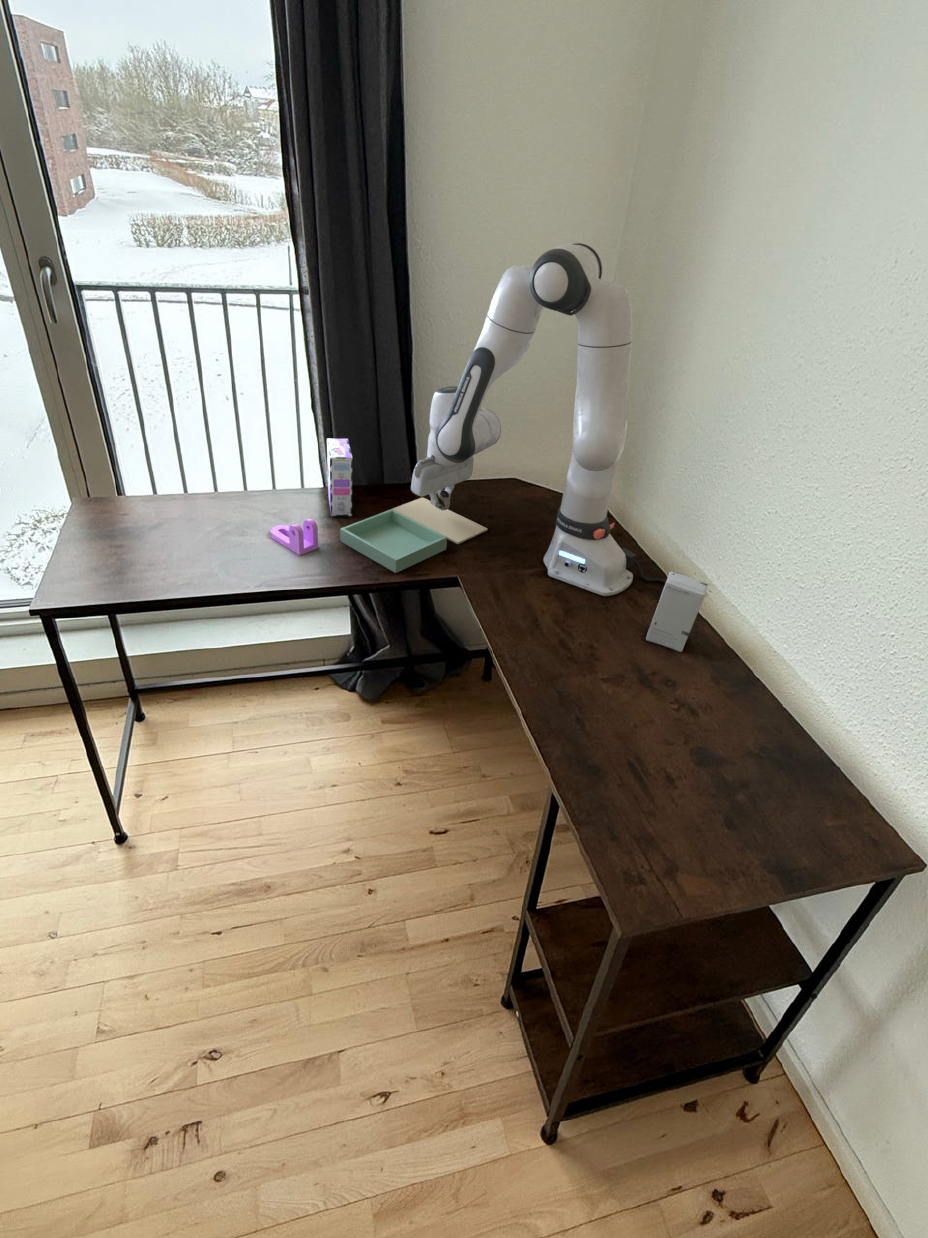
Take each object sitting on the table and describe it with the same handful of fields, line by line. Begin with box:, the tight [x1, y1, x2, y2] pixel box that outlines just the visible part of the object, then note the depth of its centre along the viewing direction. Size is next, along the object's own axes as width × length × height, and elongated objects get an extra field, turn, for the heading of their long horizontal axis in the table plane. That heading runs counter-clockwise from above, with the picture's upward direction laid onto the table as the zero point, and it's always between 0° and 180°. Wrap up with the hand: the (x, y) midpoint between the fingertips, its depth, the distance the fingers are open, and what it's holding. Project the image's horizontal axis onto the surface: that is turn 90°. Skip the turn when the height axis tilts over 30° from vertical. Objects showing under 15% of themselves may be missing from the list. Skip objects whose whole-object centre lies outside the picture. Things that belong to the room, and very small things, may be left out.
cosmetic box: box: [645, 571, 709, 653], centre depth 140 cm, size 8×6×15 cm
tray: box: [339, 508, 448, 574], centre depth 165 cm, size 20×18×4 cm
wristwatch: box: [435, 489, 451, 510], centre depth 176 cm, size 4×6×5 cm, turn 43°
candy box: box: [326, 437, 354, 517], centre depth 177 cm, size 14×6×16 cm, turn 12°
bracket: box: [270, 518, 319, 556], centre depth 161 cm, size 13×6×7 cm, turn 49°
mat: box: [392, 496, 489, 545], centre depth 180 cm, size 24×12×1 cm, turn 49°
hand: (440, 501), depth 177 cm, fingers closed on wristwatch, 3 cm apart
